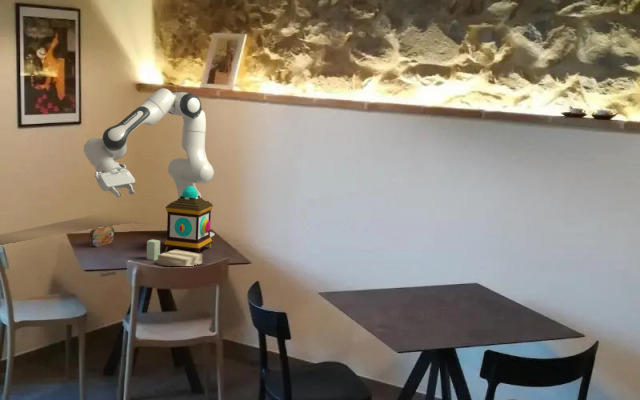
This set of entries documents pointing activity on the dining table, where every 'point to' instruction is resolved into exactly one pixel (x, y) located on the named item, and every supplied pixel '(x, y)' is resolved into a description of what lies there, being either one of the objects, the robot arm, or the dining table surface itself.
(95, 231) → the tin
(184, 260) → the plinth
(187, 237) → the decorative lantern
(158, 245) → the green block
